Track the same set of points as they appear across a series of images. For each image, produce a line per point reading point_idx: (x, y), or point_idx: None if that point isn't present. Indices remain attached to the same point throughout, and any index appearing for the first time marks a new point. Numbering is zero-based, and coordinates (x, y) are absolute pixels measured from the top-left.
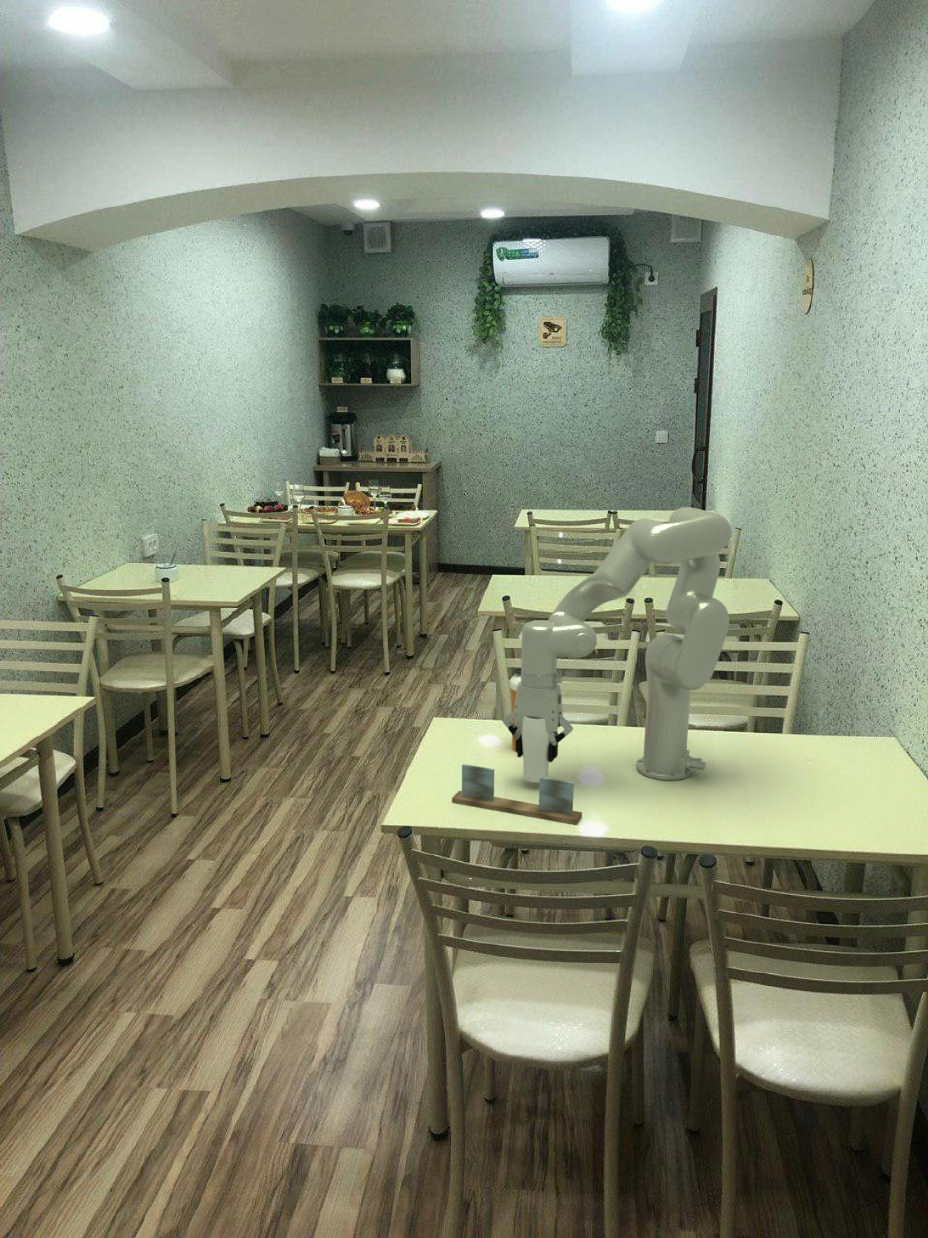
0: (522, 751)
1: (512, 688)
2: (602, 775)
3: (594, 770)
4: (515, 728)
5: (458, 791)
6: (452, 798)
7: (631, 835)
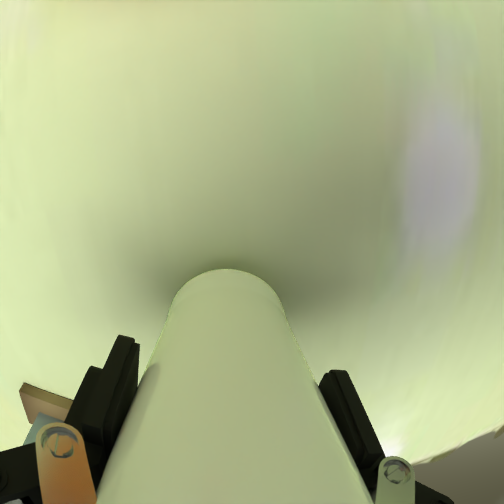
0: (132, 394)
1: None
2: (476, 157)
3: (457, 108)
4: (21, 487)
5: (20, 395)
6: (30, 422)
7: (428, 452)
